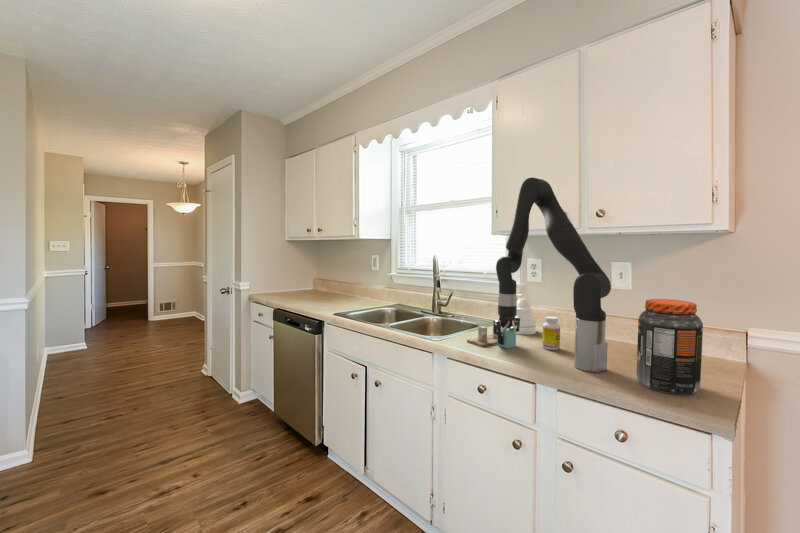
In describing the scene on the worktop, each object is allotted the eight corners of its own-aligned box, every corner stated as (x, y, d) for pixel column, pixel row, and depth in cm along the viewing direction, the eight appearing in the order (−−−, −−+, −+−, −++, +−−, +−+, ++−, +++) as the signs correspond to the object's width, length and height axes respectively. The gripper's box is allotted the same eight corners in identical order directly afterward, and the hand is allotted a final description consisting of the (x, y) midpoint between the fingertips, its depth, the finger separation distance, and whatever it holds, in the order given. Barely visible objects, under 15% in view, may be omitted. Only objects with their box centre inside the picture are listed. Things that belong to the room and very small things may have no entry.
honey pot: (502, 330, 183) (503, 294, 182) (519, 327, 190) (520, 292, 189) (524, 335, 173) (525, 297, 171) (541, 332, 180) (542, 295, 179)
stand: (512, 341, 163) (513, 325, 163) (483, 347, 153) (483, 330, 153) (495, 336, 172) (495, 321, 171) (466, 341, 162) (467, 326, 161)
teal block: (515, 346, 154) (516, 331, 154) (507, 348, 152) (507, 332, 151) (506, 343, 159) (506, 328, 158) (497, 345, 156) (497, 330, 156)
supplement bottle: (557, 351, 147) (558, 319, 147) (540, 348, 151) (541, 317, 151) (561, 347, 153) (562, 317, 152) (544, 345, 157) (545, 315, 156)
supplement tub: (653, 373, 123) (656, 296, 121) (710, 390, 109) (715, 303, 107) (625, 382, 115) (628, 300, 113) (682, 401, 101) (687, 307, 100)
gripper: (502, 307, 147) (501, 348, 148) (526, 303, 155) (525, 342, 156) (488, 304, 153) (487, 343, 154) (511, 301, 161) (511, 339, 162)
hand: (506, 343), depth 155 cm, fingers open, 6 cm apart
